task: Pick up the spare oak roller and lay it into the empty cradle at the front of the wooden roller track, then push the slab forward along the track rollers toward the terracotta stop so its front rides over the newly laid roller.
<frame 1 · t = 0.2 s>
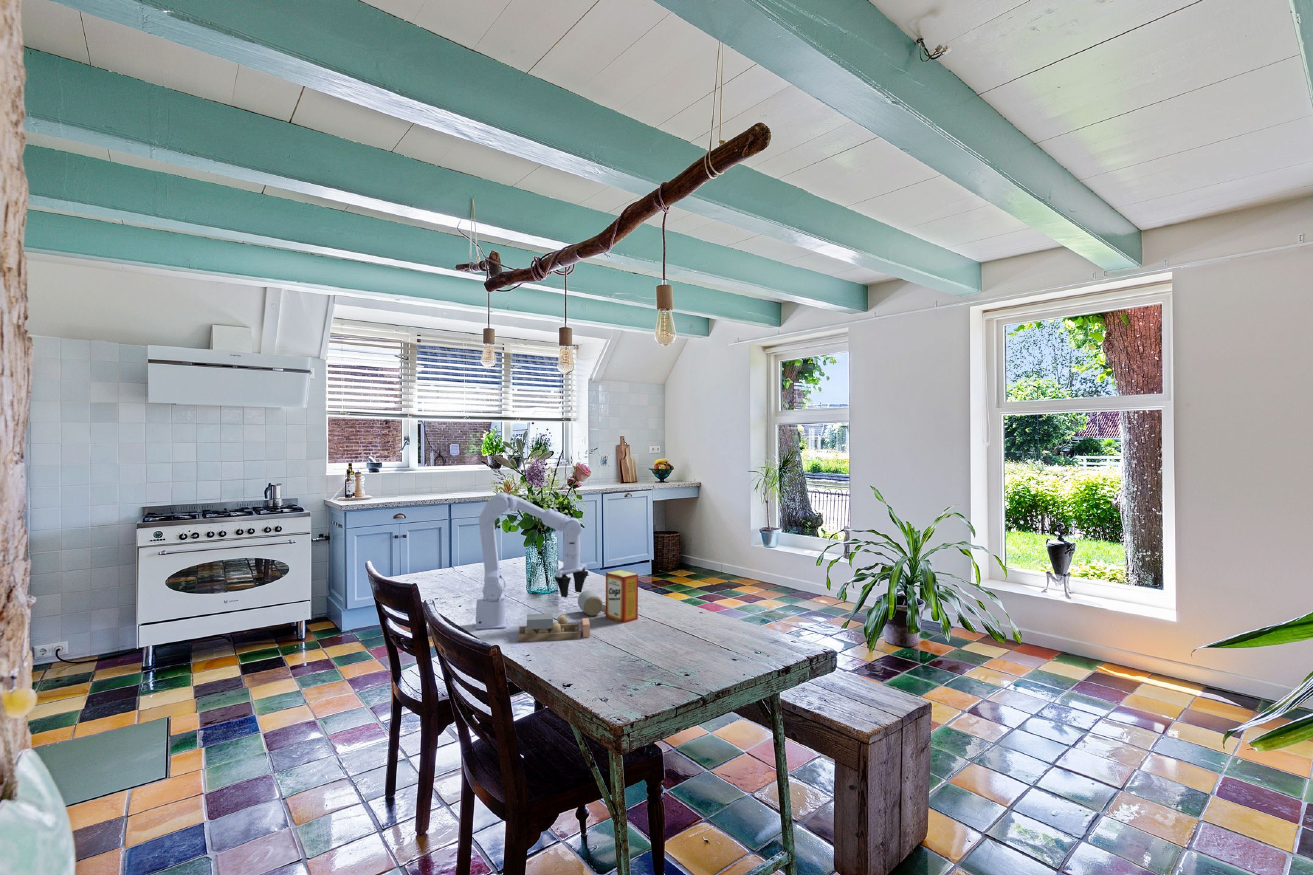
hand: (571, 594, 214), 10 cm above the table, fingers open, 7 cm apart
roller track: (549, 635, 200), on the table
ceramic mug: (594, 613, 226), on the table
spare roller: (562, 625, 211), on the table
baking soda box: (621, 618, 220), on the table
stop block: (585, 633, 202), on the table
slab: (539, 625, 200), point 3 cm above the table, touching roller track
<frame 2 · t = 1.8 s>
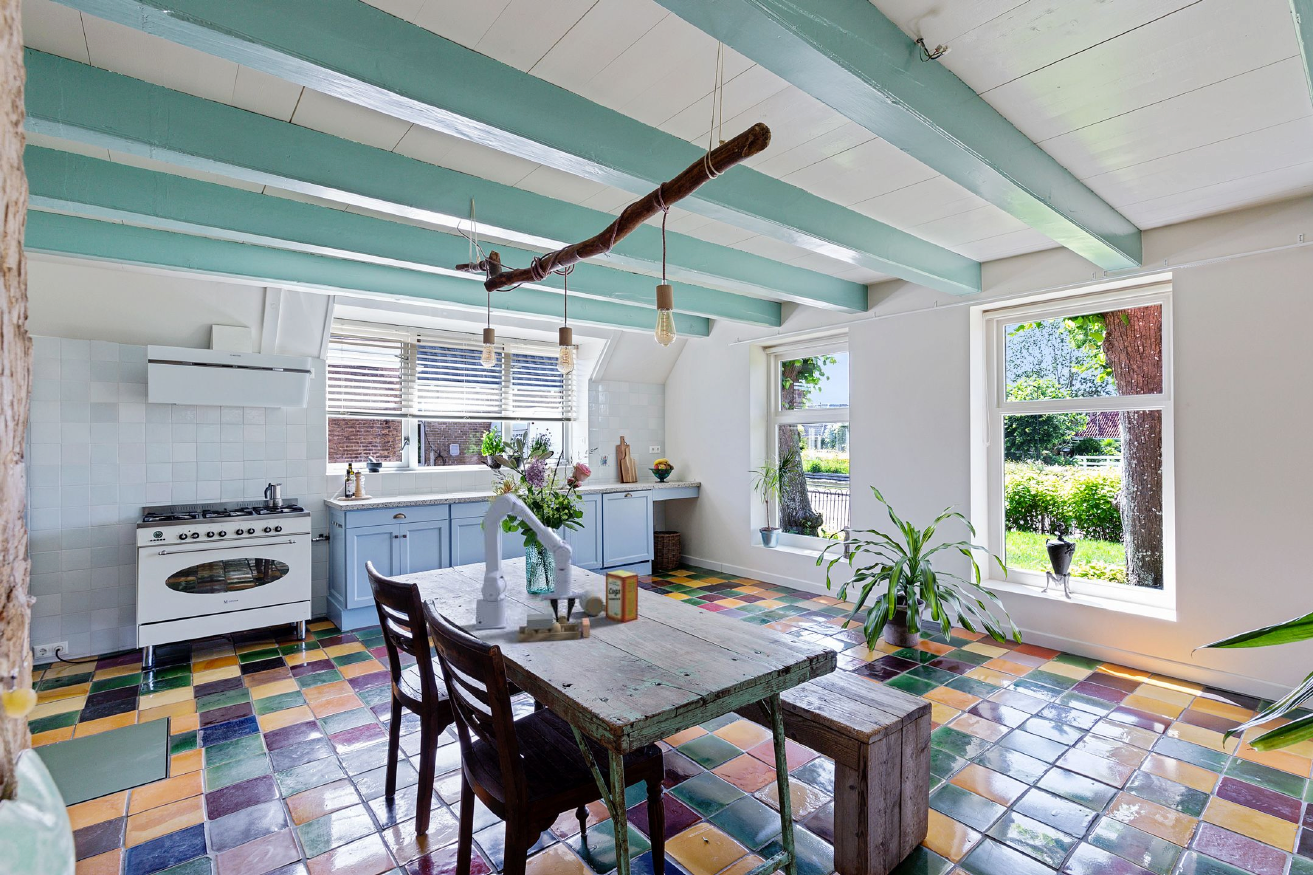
hand: (562, 621, 211), 1 cm above the table, fingers closed on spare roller, 3 cm apart
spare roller: (562, 625, 211), on the table, touching gripper
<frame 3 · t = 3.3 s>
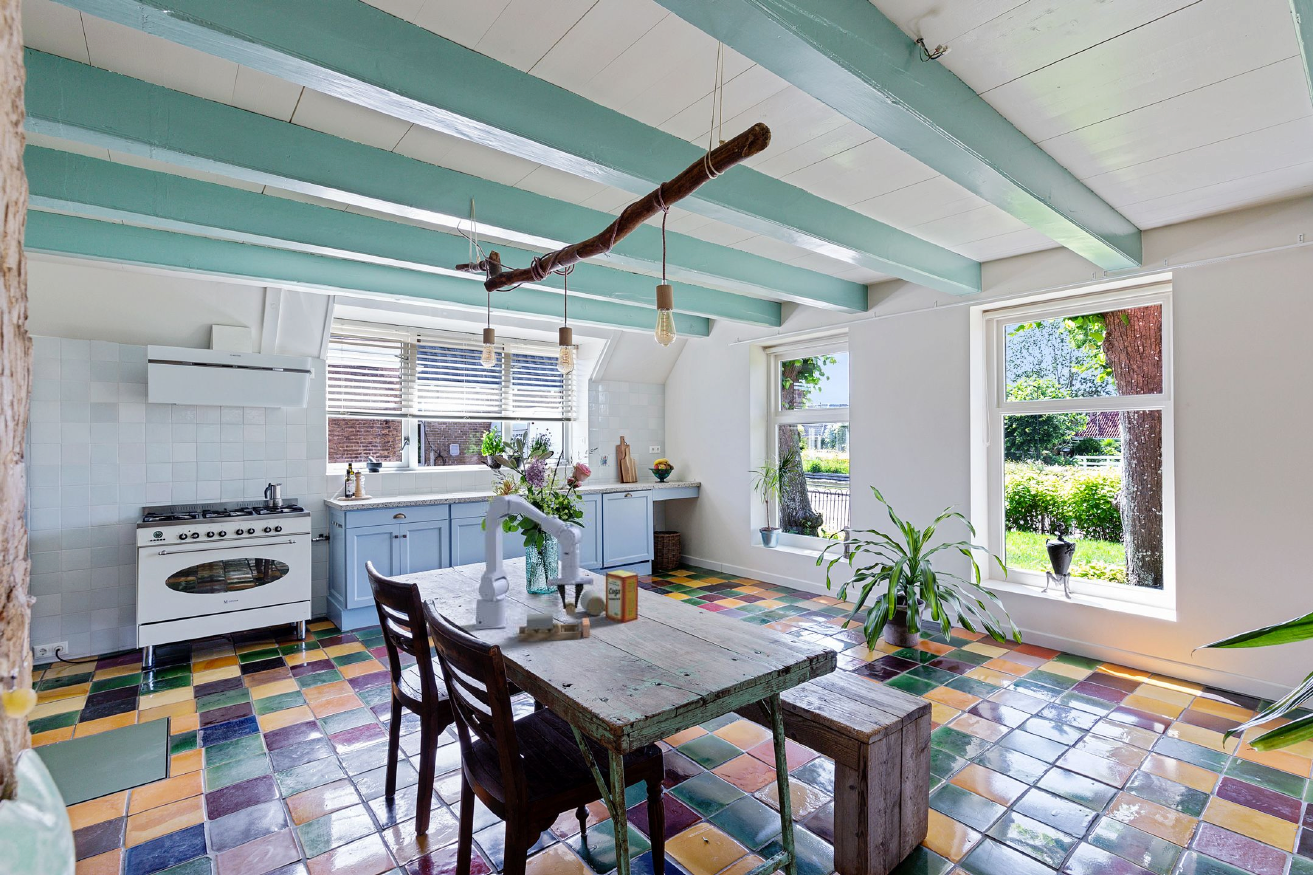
hand: (570, 607, 202), 8 cm above the table, fingers closed on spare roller, 3 cm apart
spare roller: (570, 612, 202), point 7 cm above the table, touching gripper
when the fingers open (3 cm above the table, at t = 4.6 s): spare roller drops 2 cm, resting in roller track.
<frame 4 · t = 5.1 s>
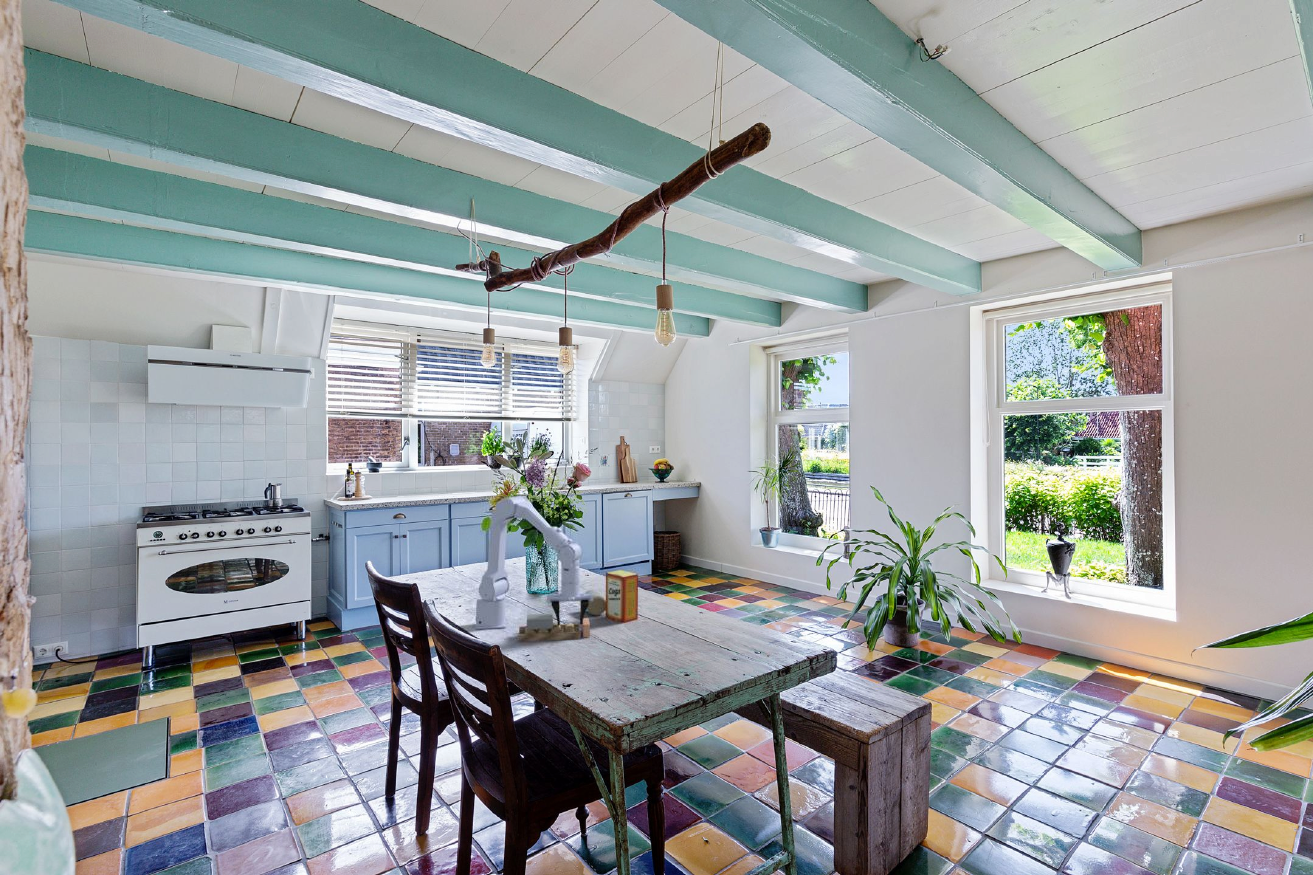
hand: (570, 623, 201), 3 cm above the table, fingers open, 6 cm apart
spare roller: (570, 634, 202), resting in roller track
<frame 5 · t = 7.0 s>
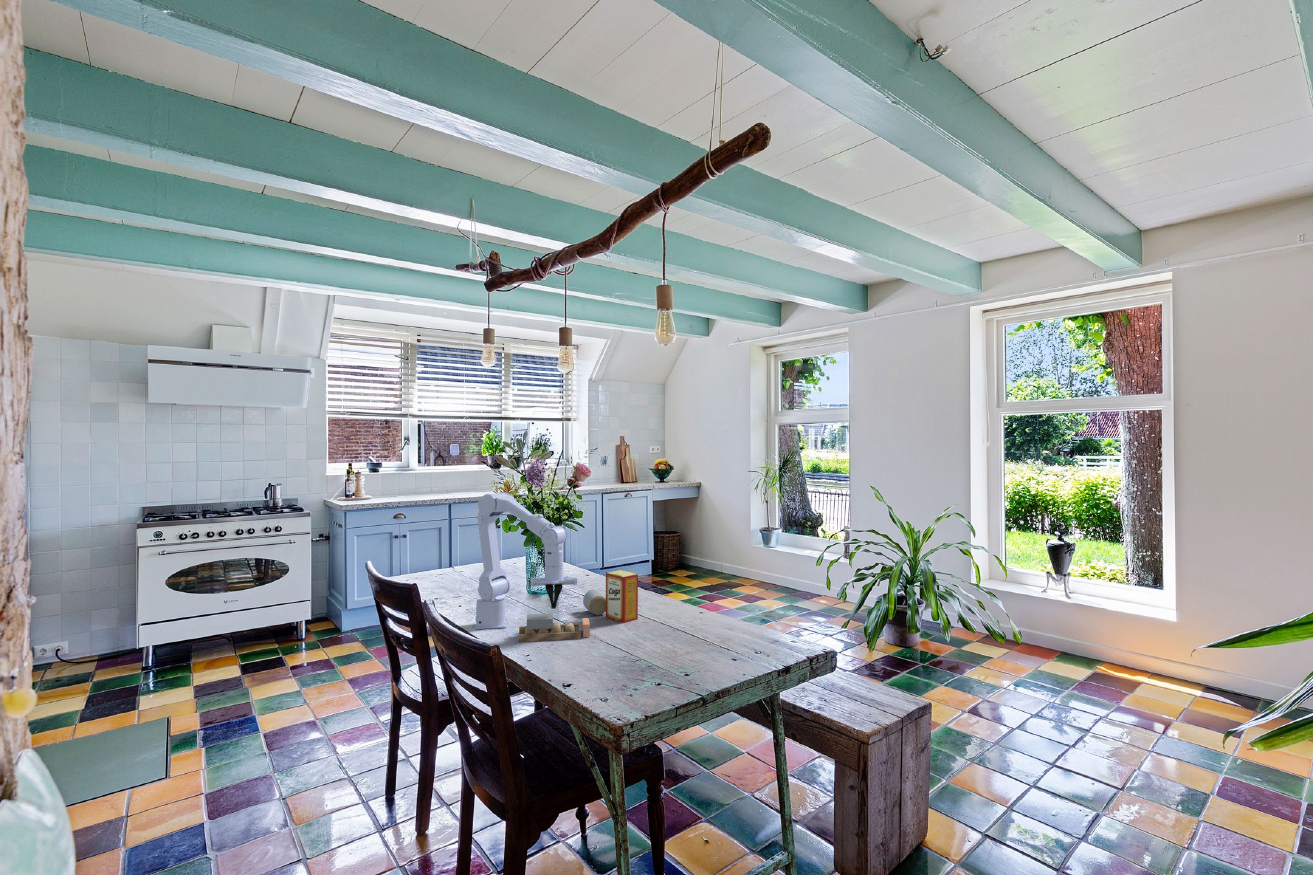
hand: (553, 607, 201), 9 cm above the table, fingers closed
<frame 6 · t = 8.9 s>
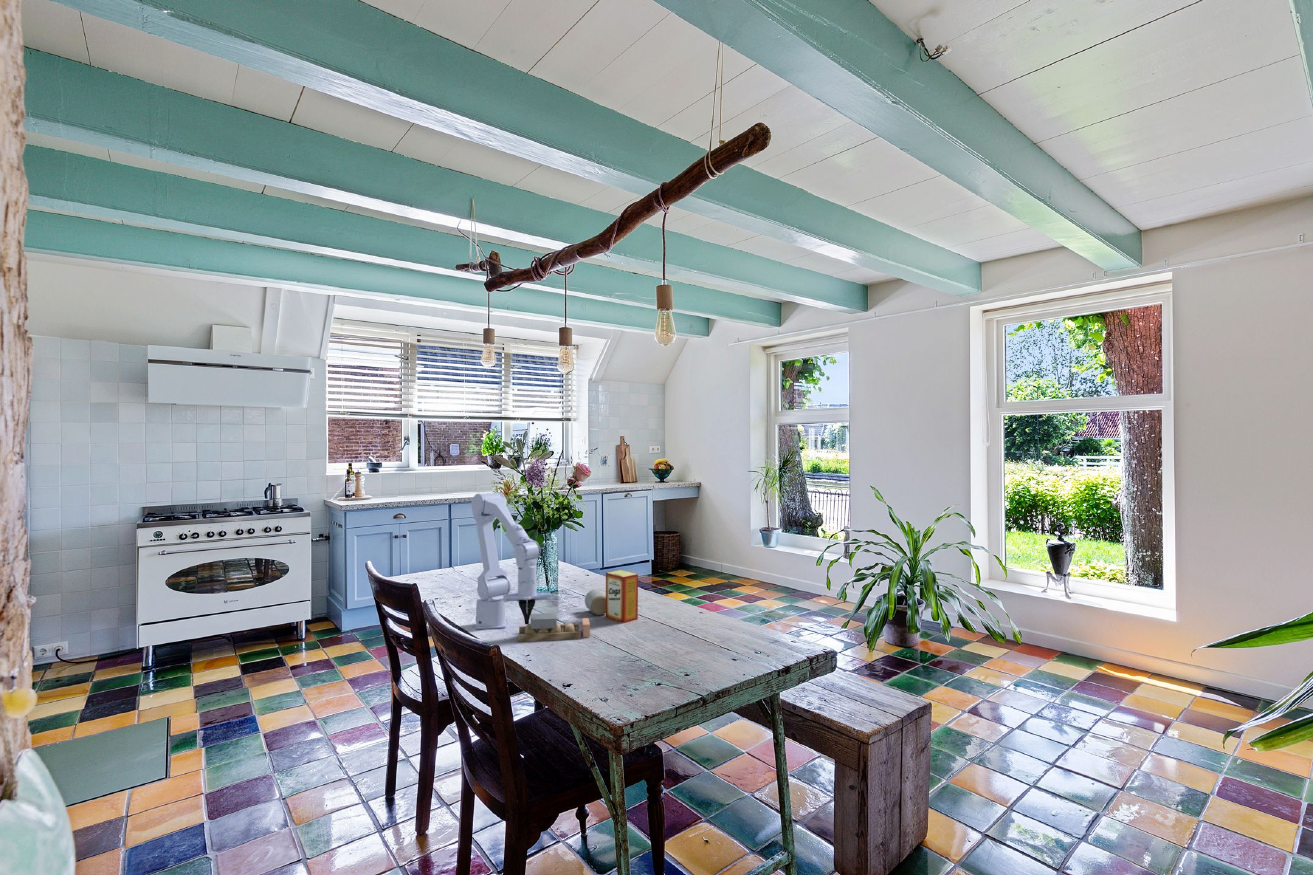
hand: (526, 623, 199), 4 cm above the table, fingers closed
slab: (543, 625, 200), point 3 cm above the table, touching gripper, roller track
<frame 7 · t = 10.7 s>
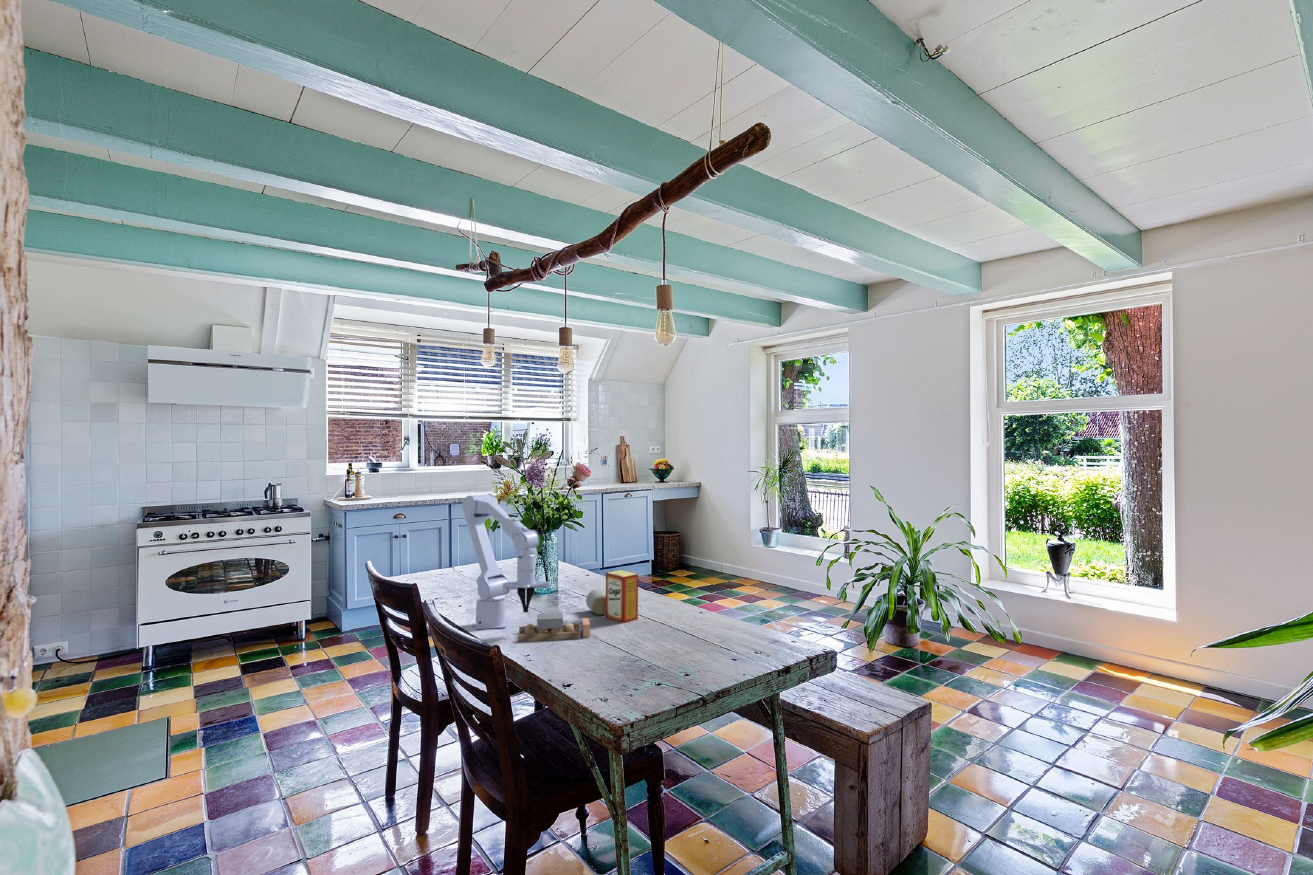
hand: (525, 611, 202), 7 cm above the table, fingers closed
slab: (549, 625, 200), point 3 cm above the table, touching roller track
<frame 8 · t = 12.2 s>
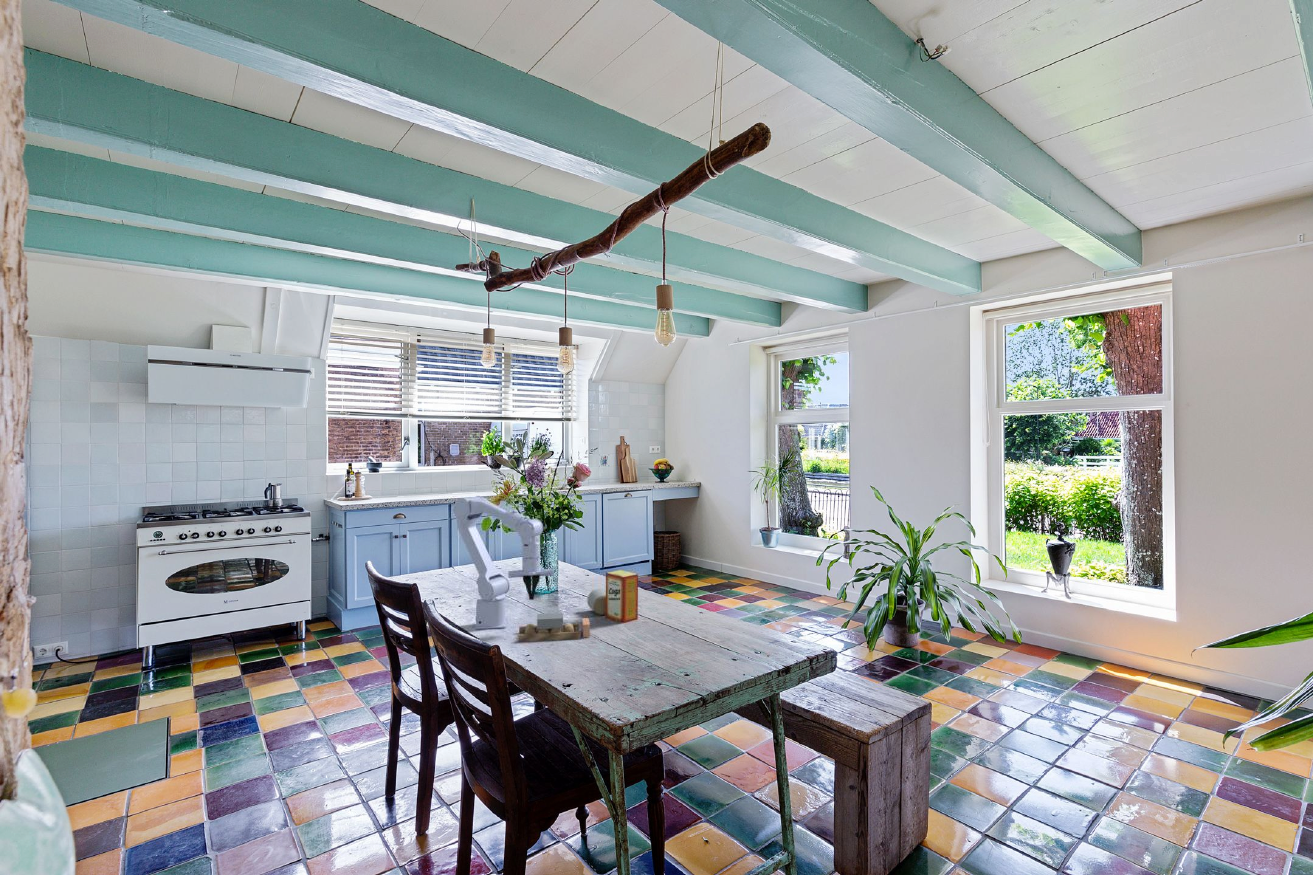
hand: (531, 598, 205), 10 cm above the table, fingers closed
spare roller: (570, 634, 202), resting in roller track, tilted 15°
at the end: slab 2.1 cm from the target spot, point 3.2 cm above the table; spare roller 0.2 cm from the target spot, resting in roller track; slab tilted 0° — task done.
